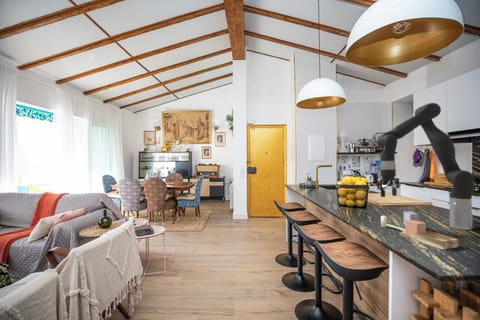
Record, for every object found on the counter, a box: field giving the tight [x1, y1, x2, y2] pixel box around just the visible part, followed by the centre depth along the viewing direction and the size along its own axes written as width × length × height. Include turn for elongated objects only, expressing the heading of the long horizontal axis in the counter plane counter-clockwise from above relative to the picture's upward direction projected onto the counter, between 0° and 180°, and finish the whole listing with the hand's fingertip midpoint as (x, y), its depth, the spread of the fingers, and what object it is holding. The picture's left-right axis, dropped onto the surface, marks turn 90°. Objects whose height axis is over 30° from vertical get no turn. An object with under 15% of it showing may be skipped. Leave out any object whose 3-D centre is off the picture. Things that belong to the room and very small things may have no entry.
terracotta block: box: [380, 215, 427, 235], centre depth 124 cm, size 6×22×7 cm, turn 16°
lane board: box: [398, 230, 460, 251], centre depth 110 cm, size 10×20×4 cm, turn 16°
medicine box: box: [403, 210, 420, 227], centre depth 132 cm, size 8×4×9 cm, turn 168°
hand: (388, 196), depth 132 cm, fingers open, 8 cm apart
